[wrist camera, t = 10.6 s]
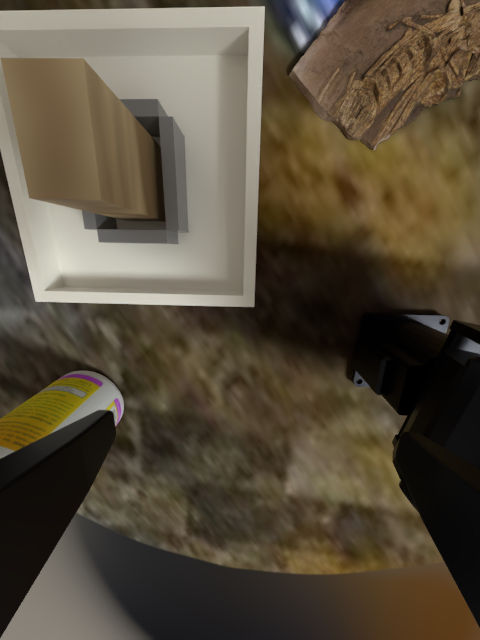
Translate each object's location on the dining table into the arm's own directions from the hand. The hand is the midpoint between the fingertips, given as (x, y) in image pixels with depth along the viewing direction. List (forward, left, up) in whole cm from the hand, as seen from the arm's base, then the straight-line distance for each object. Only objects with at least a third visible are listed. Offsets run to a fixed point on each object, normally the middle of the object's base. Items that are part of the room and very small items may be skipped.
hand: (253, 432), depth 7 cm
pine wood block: (+8, -10, -12) cm, 17 cm away
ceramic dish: (+8, -10, -13) cm, 18 cm away
